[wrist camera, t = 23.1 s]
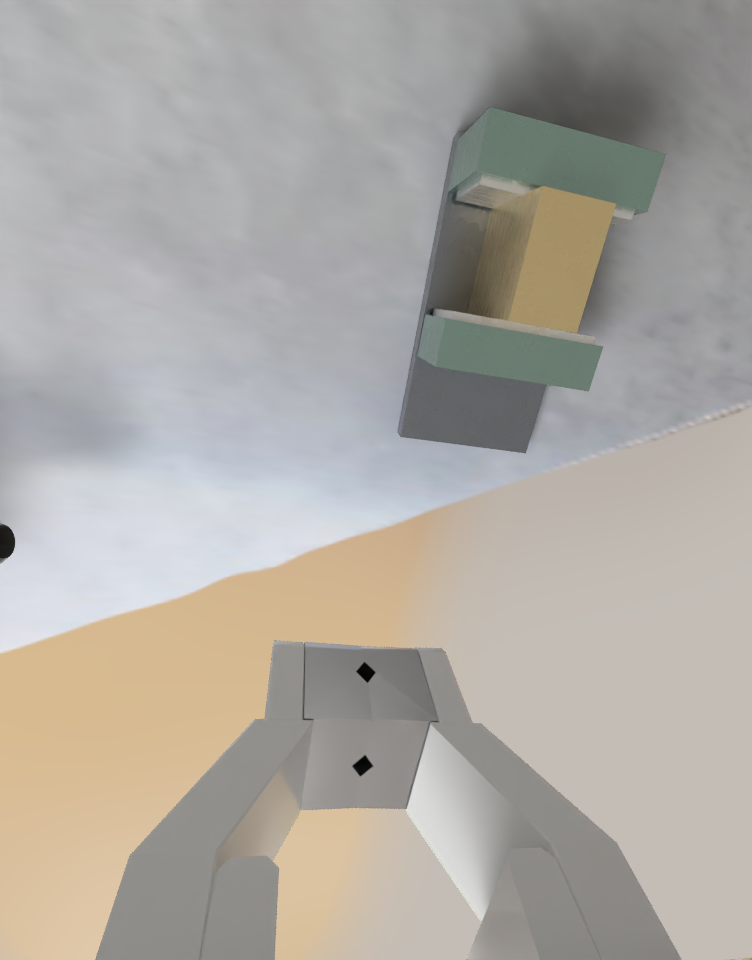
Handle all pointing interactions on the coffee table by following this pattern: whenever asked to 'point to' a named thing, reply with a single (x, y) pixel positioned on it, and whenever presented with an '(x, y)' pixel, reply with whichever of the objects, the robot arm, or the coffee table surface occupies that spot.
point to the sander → (6, 542)
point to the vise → (457, 248)
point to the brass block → (541, 258)
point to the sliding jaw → (508, 349)
